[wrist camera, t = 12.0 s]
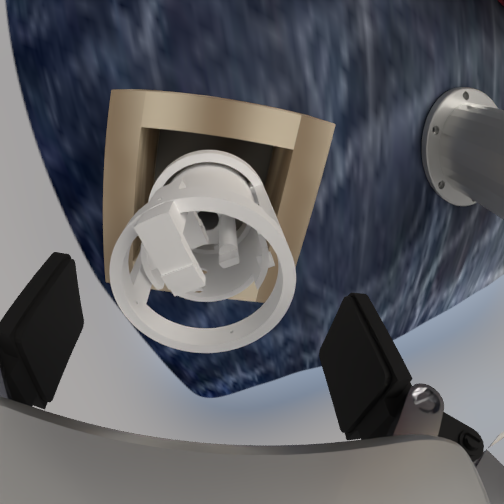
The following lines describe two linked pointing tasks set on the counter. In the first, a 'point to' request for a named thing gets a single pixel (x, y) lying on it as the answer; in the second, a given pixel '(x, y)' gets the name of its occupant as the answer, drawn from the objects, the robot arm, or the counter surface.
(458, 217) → the counter surface
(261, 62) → the counter surface
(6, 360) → the robot arm
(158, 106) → the beech holder block
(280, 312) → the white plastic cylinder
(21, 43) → the counter surface
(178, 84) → the counter surface
